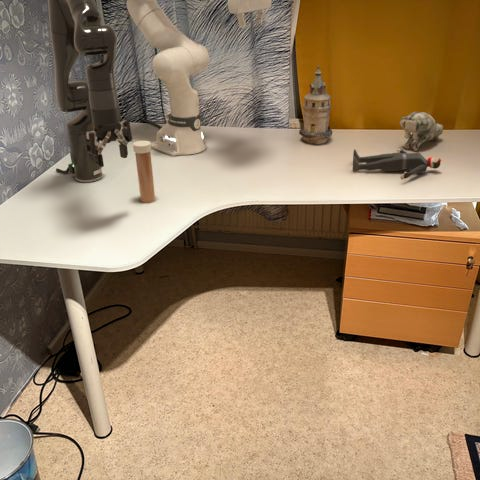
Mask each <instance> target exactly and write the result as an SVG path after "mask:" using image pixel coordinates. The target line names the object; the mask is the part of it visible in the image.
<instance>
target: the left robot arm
mask: <svg viewBox="0 0 480 480" xmlns="http://www.w3.org/2000/svg"><path fill="white" fill-rule="evenodd" d="M47 7H48V17H49V18H48V20H49V21H48V22H49V31H50V40H51V48H52V55H53V62H54V85H55V87H54V89H55V99H56V104H57V106H58V109H59V110H60V111H61V113H62V112H63V113H72V112H79V113H78V114H77V115H76V116H74V117H73V118H71V119H70V120H69V121H67V122H66V125H65V126H66V133H67V137H68V143H69V148H70V151H69V156H70V160H71V161H70V162H71V163H69V164H68V165H67V168H66V170H63V169H60V168H55V172H58V173H61V174H68V173H69V174H72V175H73V177H74V178H75V179H74V180H75V181H77V182H80V183H92V182H96V181H99V180H101V179H102V178H103V176H104V175H103V170H102V168H103V167H104V166H105V165H104V158H103V157H104V156H103V154H102V153H103V150H104V148H106V146H107V144H110V143H112V142H116V141H117V143H118V148H119V155H120V158H122V159H127V158H128V155H129V151H128V143H130V142H132V141H133V135H132V129H131V123H130V121H129V120H125V119H121V111H120V103H119V95H118V92H117V87H116V79H115V58H116V51H117V45H118V44H117V43H118V38H117V37H118V36H117V33H116V31H115V29H114V28H113V27H112V26H111V25H109V24H101V22H102V16H101V15H102V14H101V12H100V10H99V8H98V4H97V2H96V0H47ZM80 55H81V56H84V57H89V56H90V57H91V56H100V55H102V57H101V59H100V60H99V61H98V62H97V61H96V62H95V63H92V64H90V65H88V66H87V67H86V69H85V73H86V80H76V81H69V79H70V73H71V71H72V69H73V66H74V64H75V63H76V61H77V59H78V58H79V56H80ZM121 132H122V133H121Z"/></svg>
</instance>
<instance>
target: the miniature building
mask: <svg viewBox="0 0 480 480" xmlns="http://www.w3.org/2000/svg"><path fill="white" fill-rule="evenodd" d="M320 67H321V66H320V65H317V66H316V68H317V69H316V71H315V72H314V75H315V76H314V79H313V81H312V83H310V84H309V85H308V86H309V93H307V94H306V95H304V96H303V97H302V98H303V105H301V106H302V109H303V114H302V115H303V124H302V127H300V129H299V132H298V134H299V136H300V137H302V139H303V141H305V142H307V143H309V144H314V145H320V144H321V145H322V144H325V143H326V142H327V141H328V140H329V139H330V137H332V135H333V129H331V125H329V120H330V115H331V108H332V106H333V105H332V104H331V98H332V96H331V95H330V94H328V93H326V81H324V82H323V78H322V71H321V70H320Z"/></svg>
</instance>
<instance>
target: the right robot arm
mask: <svg viewBox="0 0 480 480" xmlns="http://www.w3.org/2000/svg"><path fill="white" fill-rule="evenodd" d="M272 2H273V1H272V0H227V9H228V13H230V14H232V15H236V19H237V21H238V28H239V29H245V28H247V22H246V21H245V18H244V17H245V13H250V12H255V11H256V13H257V15H256V18H255V19H254V21H255V23H254V24H255V25H262V24H263V18H264V15H265V10H266V9H270V8H271V6H272ZM126 9H127V12H128V13H129V15H130V18H131V19H132V21H133V22H134V24H135V26H136V27H137V28H138V30H139V31H140V33H141V34H142V35H143V37H144V38H145V39H146V41H147V42H148V43H149V45H150V46H151V47H153V48H154V49H157V50H159V51H160V52H159V53H156V54H155V55H154V57H153V59H152V63H151V65H152V71H153V73H154V75H155V77H156V78H157V79H159V80H160V81H161V82H162V83H163V85H164V87H165V88H166V90H167V94H168V99H169V106H170V107H169V108H170V109H169V110H170V113H168V114H167V115H165V119H166V120H167V123H166V124H164V125H163V126H162V125H160V124H158V123H156V122H153V121H151V120H147V119H144V118H143V115H142V114H139V119H140V121H142V122H144V123H147V124H151V125H153V126H155V127H157V128H159V129H158V130H157V131H156V134H155V135H156V136H155V137H156V138H155V141H153V142H151V149H154V150H157V151H159V152H161V153H164V154H167V155H169V156H174V157H175V156H176V157H177V156H182V155H183V156H186V155H194V154H199V153H201V152H204V151H205V149H206V145H205V142H204V134H203V131H202V127H201V126H202V115H201V112H200V100H199V99H200V98H199V97H200V95H199V92H198V91H197V90H196V89H195V88H194V87H192V86H191V83H190V77H191V76H194V75H197V74H199V73H201V72H203V71H204V70H205V69H207V68H208V66H209V64H210V53H209V51H208V50H207V48H206V47H205V46H204V45H202V44H200V43H198V42H195V41H194V40H192V39H191V38H189V37H188V36H187V35H186V34H184V33H183V32H182V31H180V29H178V28H177V27H176V26H175V25H174V23H173V22H172V21H171V19H170V18H169V17H168V16H167V14H166V13H165V12H164V10H163V9H162V8H161V7H160V5H159V4H158V2H157V0H126Z"/></svg>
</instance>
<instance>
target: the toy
mask: <svg viewBox="0 0 480 480" xmlns="http://www.w3.org/2000/svg"><path fill="white" fill-rule="evenodd" d="M352 157H353V158H352V171H353V172H355V173H356V172H358V171H377V170H379V171H393V172H397V171H398V172H399V171H401V170H409V171H404V172H403V174H400V179H401V180H405V179H408V178H410V177H411V176H413V175H415V174H423V173H425V172H426V171H427V169H428V168H429V169H435V170H436V169H438V168H439V167H440V166H441V162H442V160H441V158H439V157H437V156H430V157H428V158H427V159H426V158H425V157H424V155H423V154H422V153H421V152H410V153H409V152H406V151H405V150H404V149H402V148H401V149H399V148H397V149H396V152H392V153H381V154H376V155H367V156H360V155H359V153H358V151H357V149H355V148H354V149H353V153H352Z"/></svg>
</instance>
